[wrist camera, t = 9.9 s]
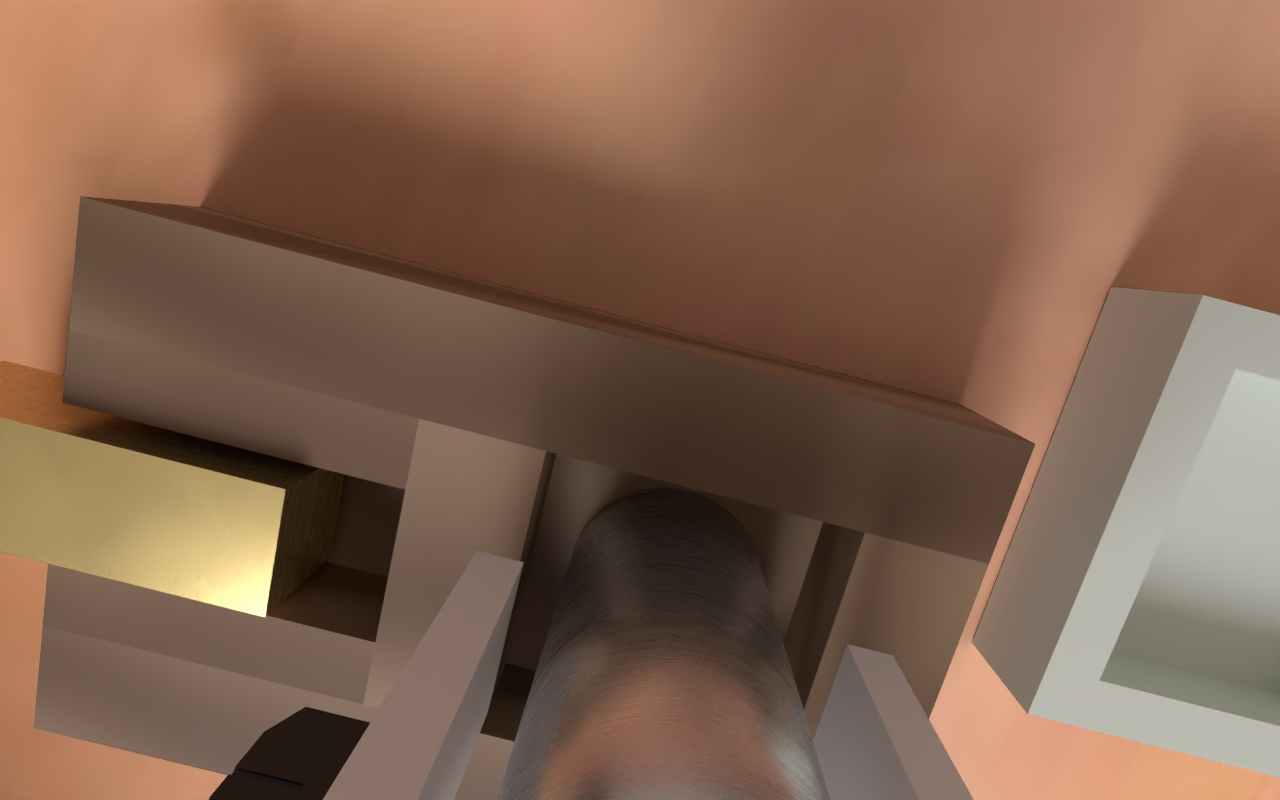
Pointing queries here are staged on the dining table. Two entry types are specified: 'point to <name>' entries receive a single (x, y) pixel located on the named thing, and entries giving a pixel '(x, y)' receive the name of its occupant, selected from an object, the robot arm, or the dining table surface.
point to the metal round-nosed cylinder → (664, 668)
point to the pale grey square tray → (1155, 538)
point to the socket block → (478, 479)
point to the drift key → (156, 502)
